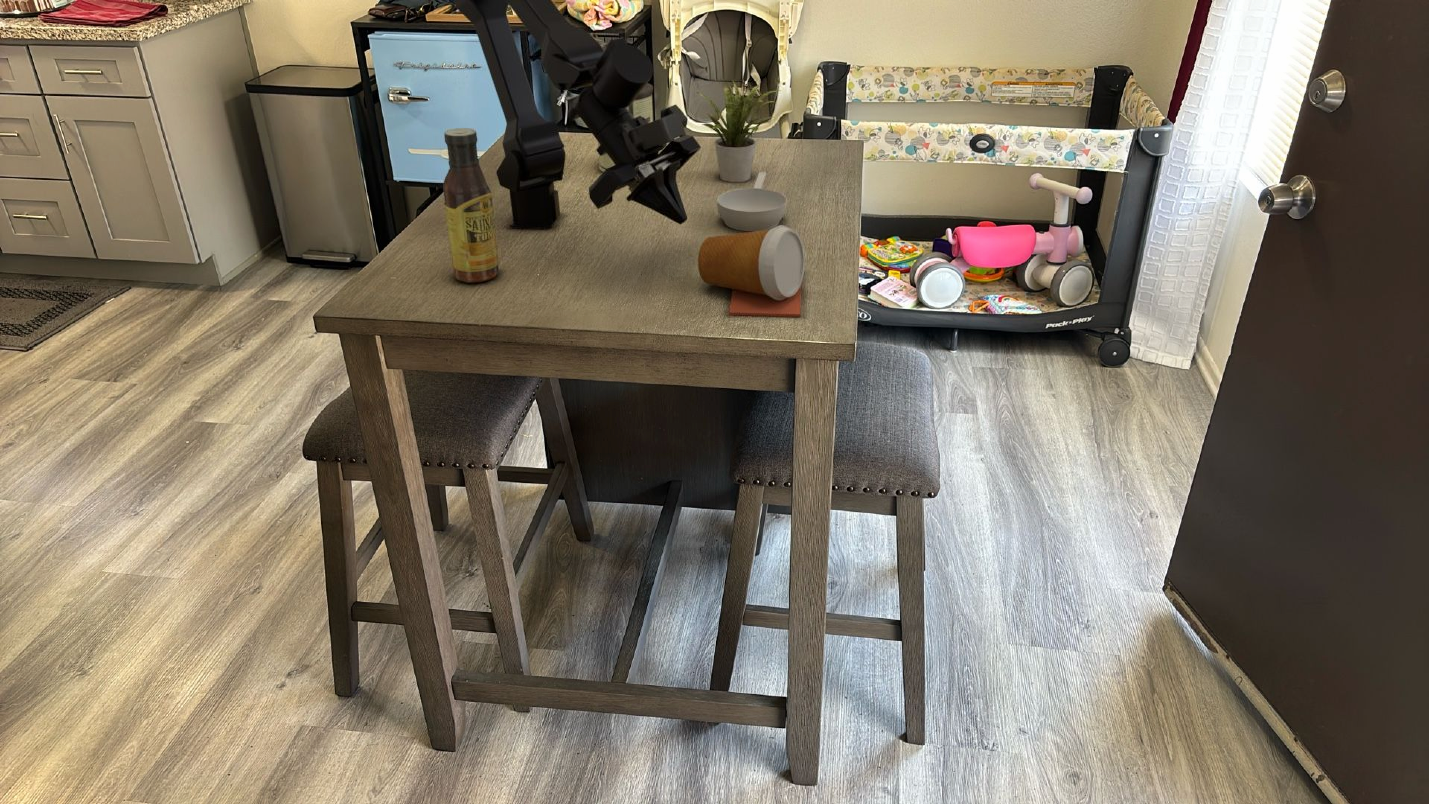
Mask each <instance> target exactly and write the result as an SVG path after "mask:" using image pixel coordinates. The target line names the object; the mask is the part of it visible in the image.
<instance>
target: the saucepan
mask: <svg viewBox="0 0 1429 804" xmlns="http://www.w3.org/2000/svg"><path fill="white" fill-rule="evenodd" d="M766 177H767V173H766V172H765V171H760V172H758V175H757V177H756V180H755V183H754V184H753V187H743V188H736V189H732V190H728V191H725V192H722V193H720V194H719V195H718V196H717V199H716V201H717V204H716V205H717V211H718V214H719V215H720V218H721V219H722V220H723V222H724V224H725V225H726V226H727V227H728V228H730V229H733V230H737V231H742V232H755V231H763V230H771V229H772V228H775V227H777V226H779V224H780V221H781V220H782V219H783V217H784V216H785V213H786V212H787V211H786V210H787V202H788V198H787V197H786V196H785V194H783V193H781V192H779V191H777V190H771V189H767V188H763V185H764V183H765V180H766Z"/></svg>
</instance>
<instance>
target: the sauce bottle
mask: <svg viewBox="0 0 1429 804" xmlns="http://www.w3.org/2000/svg"><path fill="white" fill-rule="evenodd" d="M443 134H444V135H443V136H444V143H445V145H446V146H447V155H448V166H449V168H448V172H446V175H445V177H444V179H443V183H442V184H443V185H442V191H443V198H444V204H443V205H444V212H445V220H446V221H445V222H446V226H447V227H446V229H447V237H448V243H449V245H448V246H449V250H450V251H449V253H450V260H451V267H453V275H454V278H456V280H457V281H459V282H463V283H468V284H470V283H472V284H473V283H482V282H486V281H489V280H492V279H493V278H495V277H496V276H497V275H498V273H499V253H498V243H497V235H496V223H495V217H494V216H495V214H494V206H493V197H492V196H493V195H492V191H491V189H490V187H489V184H488V183H487V181H486V178H485V175H484V173H483V170H482V168H481V165H480V160H479V156H478V147H477V143H478V135H477V134H478V133H477V131H476V130H475V129H473V128H468V127H460V128H459V127H458V128H457V127H456V128H451V129H450V128H449V129H448V130H446V131H444V132H443Z"/></svg>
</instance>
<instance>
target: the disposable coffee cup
mask: <svg viewBox="0 0 1429 804" xmlns="http://www.w3.org/2000/svg"><path fill="white" fill-rule="evenodd" d="M697 268H698V273H699V277H700V278H701V280H702V281H703V282H704V283H705V284H707V285H712V286H717V287H722V288H726V289H732V290H733V289H736V290H742V291H747V292H752V293H757V294H762V295H768V296H769V297H771V298H773V299H775V300H783V299H785V298H787V297H791V296H793V295H794V294H795V293H796V292H797V291H798V289H799V287H800V285H801V286H802V281H803V280H804V274H805V269H806V253H805V246H804V243H803V240H802V238H801V235H800V234H799V233H798V232H797V230H795V229H792V228H789V227H788V226H787V225H783V224H781V225H777V226H775V227H773V228H771V229H767V230H762V231H746V232H739V233H731V234H723V235H715V236H708V237H706V238H705V239H704V240H703V241H702V243H701V245H700V247H699V250H698V256H697Z"/></svg>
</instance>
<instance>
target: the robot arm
mask: <svg viewBox="0 0 1429 804" xmlns="http://www.w3.org/2000/svg"><path fill="white" fill-rule="evenodd" d="M453 3H454V5H455V7H456V9H457V10H458V12H460V13H461V14H462V15H463V16H464V17H465V18H466V19H467V20H468V22H470V23H471V24H472V25H473V26H474V29H475V32H476V35H477V38H478V41H479V45H480V47H481V50H482V53H483V56H484V59H485V62H486V65H487V68H488V71H489V74H490V77H491V80H492V83H493V86H494V89H495V92H496V95H497V97H498V101H499V104H500V107H501V110H502V113H503V116H504V119H505V122H506V123H505V124H506V126H505V130H504V134H503V139H502V147H503V148H502V149H503V152H504V157H503V159H502V161H501V163H500V164H499V166H498V168H497V170H496V171H495V172H496V173H495V174H496V176H497V180H498V183H499V186H500V187H502V188H504V189H507V190H509V200H510V207H511V217H512V221H511V222H510V223H509V227H510V228H512V229H513V228H514V229H547V230H549V229H552V228H553V226H554V224H555V223H556V222H557V221H558V219H559V217H561V210H560V198H559V197H560V196H559V191H558V190H557V189H555V182H560V181H563V177H564V172H565V165H566V151H565V145H564V143H563V141H562V139H561V136H560V132H559V128H558V125H557V123H556V121H554V120H547V119H545V118H544V117H543V116H542V115H541V114H540V113H539V110H538V107H537V104H536V101H535V98H534V95H533V92H532V89H531V86H530V82H529V80H528V77H527V73H526V70H525V68H524V65H523V64H524V63H523V62H522V58H521V55H520V52H519V50H518V46H517V43H516V39H515V37H514V34H513V31H512V28H511V25H510V22H509V21H510V20H509V18H508V14H507V12H508V9H509V8H511V9H512V11H513V12H514V14H515V15H516V16H517V18H518V20H519V21H520V22H521V23H522V24H523V26H524V27H525V28H526V30H527V31H528V32H529V34H530V35H531V36H532V38H533V39H534V41H535V42H536V43H537V45H538V47H539V48H540V63H541V66H542V68H543V69H544V71H545V73H546V75H547V77H548V78H549V80H550V81H551V83H552V85H554V87H555V88H556V89H557V90H559V91H571V90H575V89H580V88H583V89H582V90H581V91H580V93H579V94H578V95H576V96H574V97H571V98H569V99H568V111H567V114H568V115H567V116H568V117H567V118H568V121H570V122H573V121H574V120H577V119H580V120H581V121H582V122H583V123H584V125H585V126H586V127H587V129H588V130H589V131H590V133H591V134H592V135H593V137H594V138H595V139H596V141H597V143H598V142H599V144H600V146H599V147H598V146H597V148H596V149H595V151H596V152H597V154H598V156H599V155H600V156H602V155H604V154H608V156H609V157H610V158H611V160H612V161H613V162H614V164H615V165H614V166H612V167H610V168H607V169H606V170H605V171H604V172H602V173H600V175H599V176H598V177H597V178H596V180H595V181H594V182H593V183H592V184H591V185H590V186H589V187H588V197H589V199H590V201H591V202H592V203H593V205H594V206H595V208H596V209H597V210H600V209H602V208H604V207H606V206H609V205H610V204H612V202H613V201H614V200H613V199H614V197H613V195H614V194H615V193H616V191H619V190H622V189H623V188H625V187H628V190H629V192H630V193H629V195H627V197H626V198H625V199H626V201H628V202H631V201H632V202H635V203H637V204H639V205H641V206H643V207H646V208H648V209H650V210H651V211H654V212H656V213H657V214H660V215H662V216H663V217H666V218H667V219H668V220H671V221H673V222H674V223H676V224H679V225H682V224H684V223H685V222H687V220H688V216H687V215H688V214H687V212H686V209H685V206H684V202H683V200H682V197H681V194H680V191H679V186H678V182H677V173H678V171H680V169H682V168H683V167H684V166H685V165H686V163H688V162H689V161H690V160H691V159H692V158H693V157H694V156H695V155H696V153H698V152H699V151H700V150H701V148H702V146H701V145H700V143H698V141H697V140H696V138H695V137H694V135H689V134H687V133H686V130H685V128H687V127H688V126H687V125H688V119H689V118H688V116H687V115H685V113H684V112H683V110H682V109H681V108H680V107H679V106H678V105H677V104H673V105H671V106H668V107H666V108H663V109H661V110H660V118H658V119H656V120H655V119H654V121H653V122H650V123H648V122H647V121H646V119H645V118H644V117H641V116H639V117H636V118H634V117H633V116H632V114H631V113H630V112H629V110H628V109H627V108H626V107H628V106H630V105H631V104H632V103H633V102H634V100H635V99H636V98H637V96H638V95H639V94H640V92H641V91H642V89H643V88H644V87H645V85H646V84H647V83H649V82H650V80H651V79H652V77H653V74H654V66H653V65H654V64H653V63H652V60H651V59H650V57H649V55H646V54H645V53H644V51H642V50H641V49H640V48H638V47H636V46H633V45H630V44H628V43H627V41H626V39H625V37H618V38H612V39H610V40H609V41H608V42H607V45H606V48H605V49H604V48H603V46H602V45H601V44H600V43H599V42H598V40H597V39H595V38H594V37H593V36H592V35H591V34H590V33H589V32H588V31H587V30H585V29H582V28H580V27H578V26H576V25H574V24H572V23H570V21H568V20H567V18H566V17H565V16H564V15H563V14H562V12H561V11H560V10H559V8H558V7H557V5H556V4H555V3H554V1H553V0H453ZM651 166H652V167H651Z"/></svg>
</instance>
